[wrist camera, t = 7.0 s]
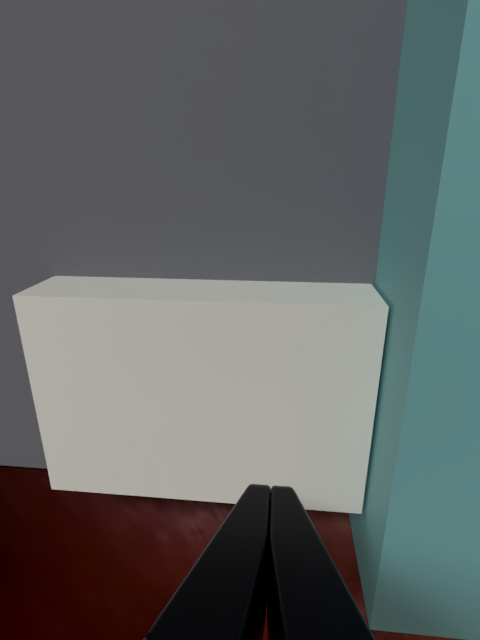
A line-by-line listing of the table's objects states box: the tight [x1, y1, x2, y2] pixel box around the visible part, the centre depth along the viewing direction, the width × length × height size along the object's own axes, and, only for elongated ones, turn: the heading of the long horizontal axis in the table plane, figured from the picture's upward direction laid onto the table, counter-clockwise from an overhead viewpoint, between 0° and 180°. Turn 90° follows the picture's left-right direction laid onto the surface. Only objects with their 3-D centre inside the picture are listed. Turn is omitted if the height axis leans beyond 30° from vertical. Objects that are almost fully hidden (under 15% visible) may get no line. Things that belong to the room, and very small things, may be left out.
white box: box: [12, 276, 389, 514], centre depth 12 cm, size 9×6×2 cm, turn 90°
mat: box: [0, 0, 407, 469], centre depth 12 cm, size 13×14×1 cm
